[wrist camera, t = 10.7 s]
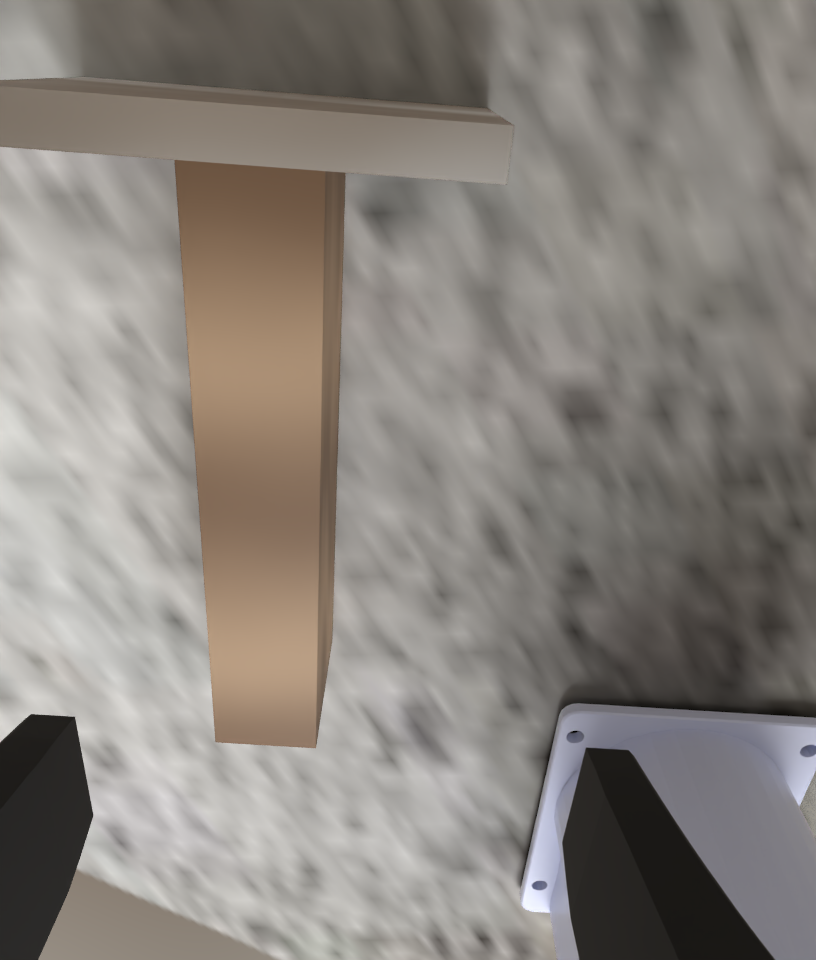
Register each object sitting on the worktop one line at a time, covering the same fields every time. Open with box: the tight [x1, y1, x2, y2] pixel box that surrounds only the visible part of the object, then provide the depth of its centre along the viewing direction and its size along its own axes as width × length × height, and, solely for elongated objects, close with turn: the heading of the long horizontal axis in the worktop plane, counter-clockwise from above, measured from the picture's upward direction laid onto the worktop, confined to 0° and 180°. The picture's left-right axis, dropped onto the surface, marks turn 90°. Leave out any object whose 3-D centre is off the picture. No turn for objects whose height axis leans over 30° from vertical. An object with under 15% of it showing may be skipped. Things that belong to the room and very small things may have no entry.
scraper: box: [0, 77, 514, 748], centre depth 16 cm, size 14×8×5 cm, turn 176°
